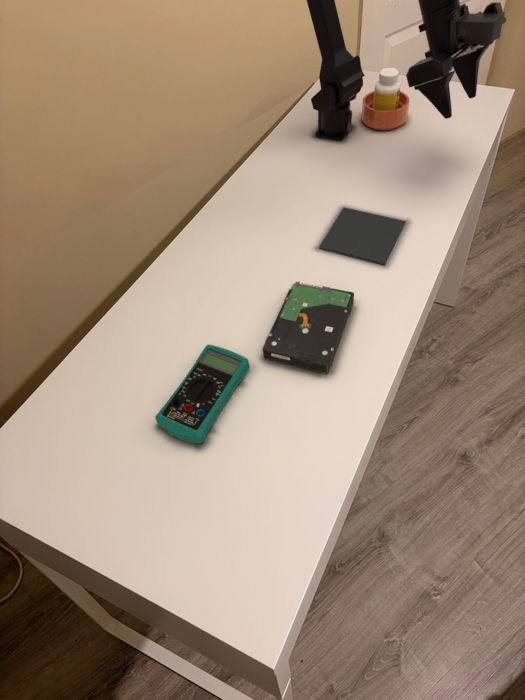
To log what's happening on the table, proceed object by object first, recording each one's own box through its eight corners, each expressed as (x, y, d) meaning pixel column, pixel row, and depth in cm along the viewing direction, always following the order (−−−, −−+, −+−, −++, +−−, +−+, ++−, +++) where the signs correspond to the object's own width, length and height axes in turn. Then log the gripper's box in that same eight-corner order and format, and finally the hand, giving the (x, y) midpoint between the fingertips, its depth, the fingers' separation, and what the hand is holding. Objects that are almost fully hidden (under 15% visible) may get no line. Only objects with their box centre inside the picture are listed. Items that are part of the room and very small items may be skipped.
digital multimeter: (155, 429, 69) (150, 419, 67) (210, 351, 77) (207, 339, 74) (199, 450, 67) (195, 440, 64) (252, 367, 74) (249, 355, 72)
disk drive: (329, 376, 72) (354, 302, 80) (330, 365, 70) (355, 290, 78) (263, 360, 75) (292, 290, 83) (261, 349, 73) (292, 278, 80)
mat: (319, 248, 88) (319, 246, 88) (343, 208, 94) (343, 207, 94) (384, 265, 84) (384, 263, 84) (405, 222, 90) (405, 221, 90)
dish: (355, 127, 111) (356, 107, 108) (370, 106, 116) (371, 86, 113) (398, 134, 108) (401, 114, 104) (412, 112, 113) (415, 92, 110)
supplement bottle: (398, 122, 110) (404, 76, 102) (373, 124, 110) (377, 79, 103) (394, 110, 113) (400, 65, 105) (370, 112, 114) (374, 67, 106)
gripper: (461, 4, 68) (483, 117, 76) (516, -31, 77) (530, 74, 84) (393, 33, 77) (418, 133, 84) (449, -1, 85) (467, 92, 93)
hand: (460, 107), depth 86 cm, fingers open, 9 cm apart
